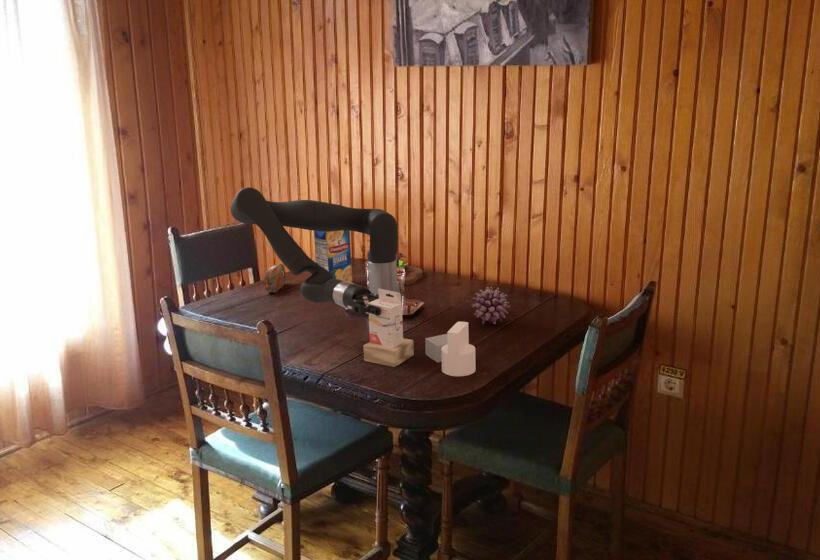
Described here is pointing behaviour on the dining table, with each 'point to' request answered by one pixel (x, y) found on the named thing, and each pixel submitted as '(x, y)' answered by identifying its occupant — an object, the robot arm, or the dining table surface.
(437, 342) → the slate block
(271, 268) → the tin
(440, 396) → the dining table surface
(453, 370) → the base with upright slab
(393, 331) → the ink cartridge box
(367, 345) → the beech block
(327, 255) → the beverage box
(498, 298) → the purple spiky ball
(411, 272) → the plant
